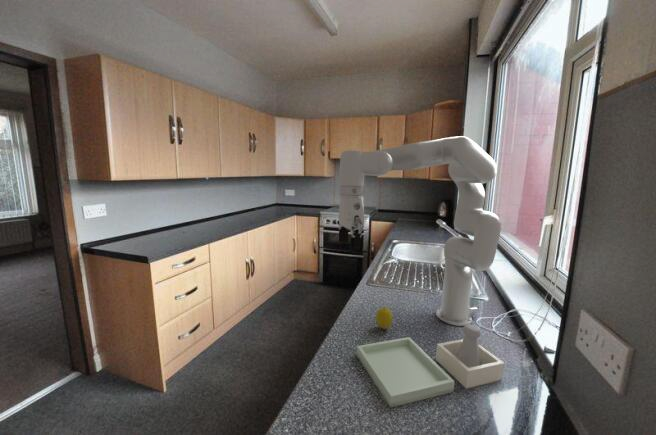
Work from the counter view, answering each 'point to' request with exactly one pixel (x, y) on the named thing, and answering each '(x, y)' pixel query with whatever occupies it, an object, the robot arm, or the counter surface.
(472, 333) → the salt shaker
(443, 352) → the square frame
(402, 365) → the tray
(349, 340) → the counter surface
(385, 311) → the lemon
